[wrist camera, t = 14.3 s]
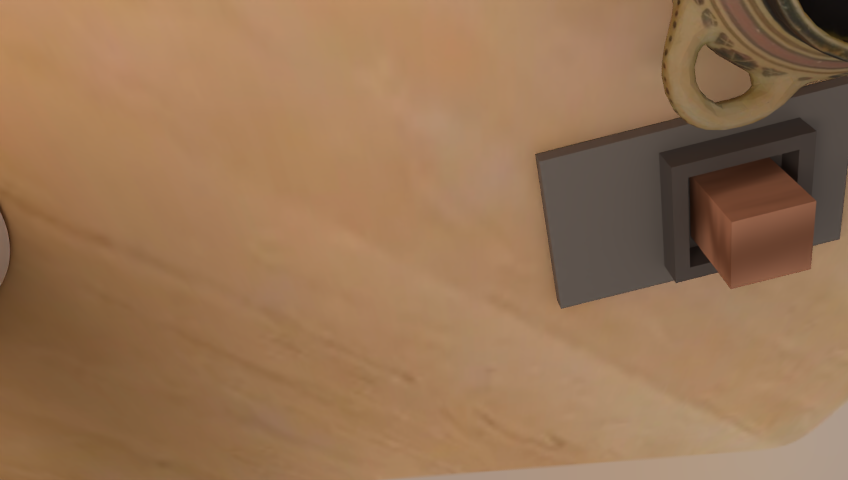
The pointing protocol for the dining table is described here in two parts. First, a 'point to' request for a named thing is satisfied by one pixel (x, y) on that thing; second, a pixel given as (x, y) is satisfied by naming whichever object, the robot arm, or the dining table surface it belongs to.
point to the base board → (678, 191)
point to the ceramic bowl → (753, 53)
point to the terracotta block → (752, 222)
